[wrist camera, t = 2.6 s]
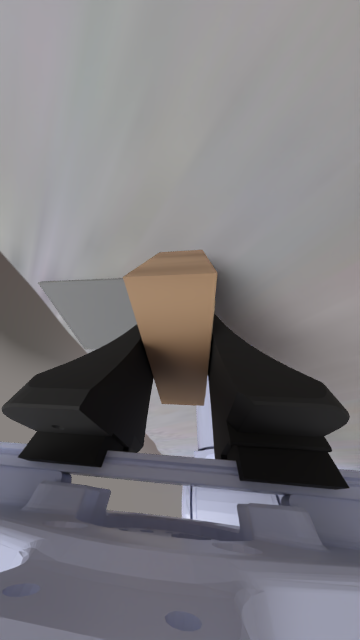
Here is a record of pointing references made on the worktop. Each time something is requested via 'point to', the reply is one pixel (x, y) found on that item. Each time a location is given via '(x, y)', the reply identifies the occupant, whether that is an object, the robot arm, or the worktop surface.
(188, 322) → the slab
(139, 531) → the robot arm
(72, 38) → the worktop surface
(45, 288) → the mat
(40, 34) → the worktop surface
